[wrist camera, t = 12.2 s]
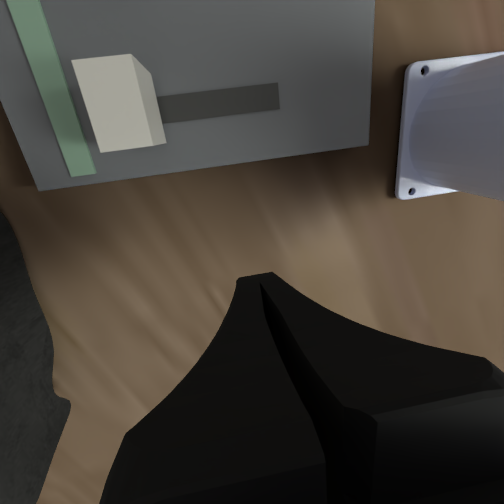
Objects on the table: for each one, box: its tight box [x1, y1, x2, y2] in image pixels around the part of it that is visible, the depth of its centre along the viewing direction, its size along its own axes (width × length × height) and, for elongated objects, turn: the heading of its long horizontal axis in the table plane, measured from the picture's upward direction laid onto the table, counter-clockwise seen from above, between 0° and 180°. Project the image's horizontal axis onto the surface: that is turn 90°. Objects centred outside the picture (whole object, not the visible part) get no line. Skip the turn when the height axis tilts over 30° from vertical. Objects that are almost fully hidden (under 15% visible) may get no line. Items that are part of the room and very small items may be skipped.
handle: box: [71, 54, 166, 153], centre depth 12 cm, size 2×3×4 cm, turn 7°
